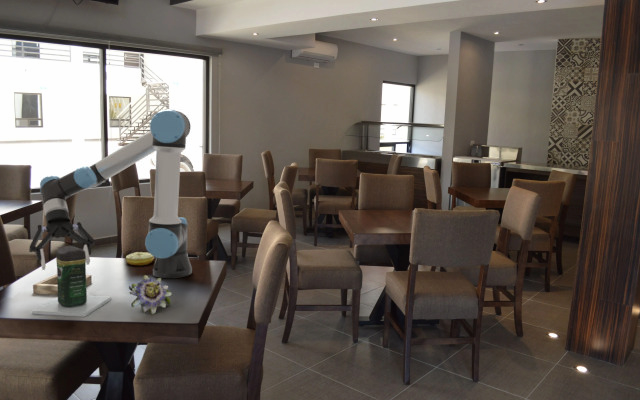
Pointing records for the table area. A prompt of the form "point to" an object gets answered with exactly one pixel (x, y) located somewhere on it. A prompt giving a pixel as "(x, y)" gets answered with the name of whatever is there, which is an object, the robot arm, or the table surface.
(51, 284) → the holder collar
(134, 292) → the passion flower
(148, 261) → the decorated donut
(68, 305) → the coffee jar
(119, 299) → the table surface
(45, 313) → the ceramic tile
